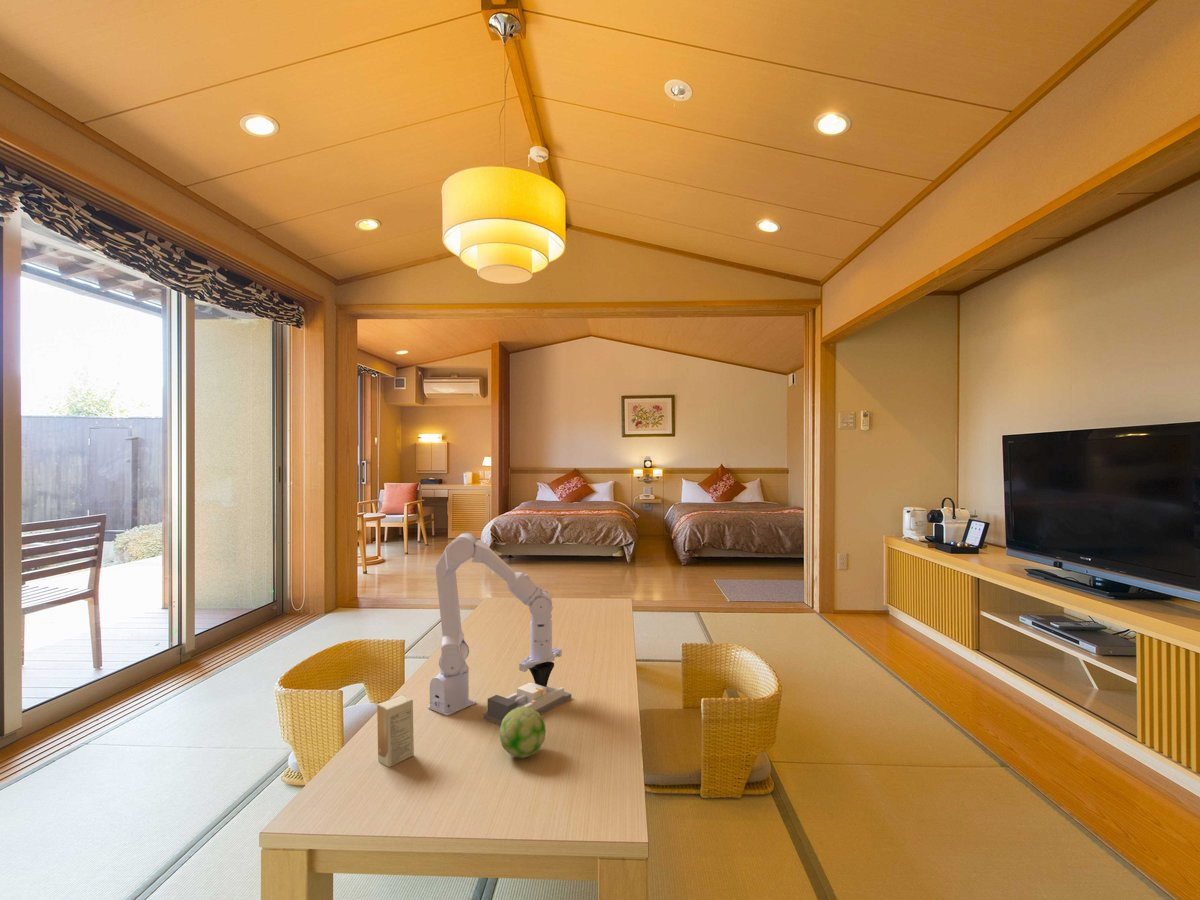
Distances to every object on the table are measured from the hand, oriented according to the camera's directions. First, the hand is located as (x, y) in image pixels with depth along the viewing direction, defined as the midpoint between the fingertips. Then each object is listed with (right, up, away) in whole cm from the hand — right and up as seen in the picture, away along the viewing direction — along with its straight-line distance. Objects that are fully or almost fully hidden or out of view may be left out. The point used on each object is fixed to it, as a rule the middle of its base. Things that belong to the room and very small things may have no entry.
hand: (541, 690), depth 152 cm
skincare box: (-28, -3, -28) cm, 40 cm away
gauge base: (-3, -3, -4) cm, 5 cm away
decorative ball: (-1, -3, -27) cm, 27 cm away
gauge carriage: (-2, -2, -5) cm, 5 cm away
